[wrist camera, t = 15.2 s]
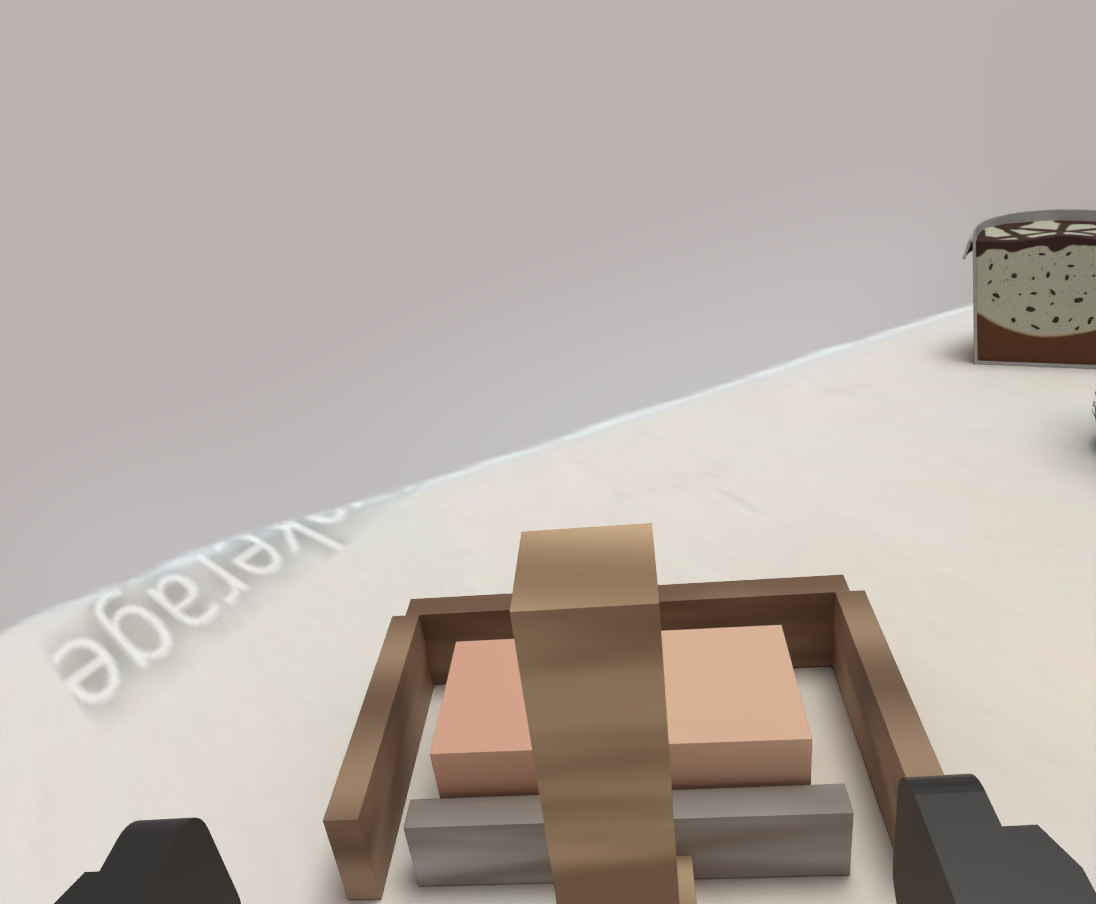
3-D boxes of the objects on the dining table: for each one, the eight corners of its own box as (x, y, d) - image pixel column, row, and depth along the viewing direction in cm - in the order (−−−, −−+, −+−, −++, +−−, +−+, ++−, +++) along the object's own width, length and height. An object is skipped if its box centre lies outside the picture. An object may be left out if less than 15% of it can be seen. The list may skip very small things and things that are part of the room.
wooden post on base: (923, 1139, 23) (994, 665, 16) (367, 1138, 25) (203, 704, 18) (841, 844, 31) (863, 440, 24) (425, 857, 33) (328, 480, 26)
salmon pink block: (614, 848, 33) (603, 747, 30) (452, 852, 33) (430, 753, 31) (613, 727, 38) (603, 634, 36) (474, 733, 38) (455, 641, 36)
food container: (1132, 339, 67) (1159, 205, 62) (1146, 370, 62) (1175, 227, 58) (953, 334, 72) (965, 209, 67) (952, 363, 67) (965, 230, 62)
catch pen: (943, 886, 30) (955, 800, 28) (348, 899, 32) (322, 820, 30) (853, 646, 40) (857, 573, 39) (413, 668, 42) (398, 600, 41)
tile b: (808, 842, 32) (811, 738, 30) (640, 846, 32) (630, 745, 30) (780, 720, 37) (781, 624, 35) (636, 726, 38) (627, 632, 36)
